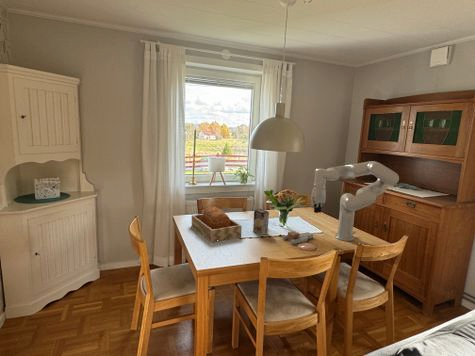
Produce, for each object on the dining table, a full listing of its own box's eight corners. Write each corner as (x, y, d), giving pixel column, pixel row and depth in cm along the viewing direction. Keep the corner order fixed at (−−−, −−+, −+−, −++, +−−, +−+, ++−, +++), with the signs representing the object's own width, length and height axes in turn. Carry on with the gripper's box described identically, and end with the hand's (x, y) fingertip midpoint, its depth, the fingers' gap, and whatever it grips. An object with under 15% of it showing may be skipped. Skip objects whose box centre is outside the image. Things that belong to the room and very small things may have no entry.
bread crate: (218, 221, 221) (218, 211, 220) (241, 236, 192) (241, 225, 191) (191, 225, 210) (191, 215, 208) (211, 242, 181) (211, 230, 179)
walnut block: (293, 238, 193) (294, 230, 192) (299, 241, 188) (299, 233, 187) (287, 239, 190) (287, 232, 189) (292, 242, 185) (293, 234, 184)
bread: (212, 238, 187) (212, 215, 185) (200, 225, 211) (201, 205, 208) (231, 236, 193) (232, 214, 190) (218, 223, 217) (218, 204, 214)
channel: (298, 236, 197) (298, 232, 197) (307, 240, 189) (307, 237, 189) (282, 239, 190) (282, 236, 189) (291, 244, 182) (291, 240, 182)
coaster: (306, 242, 186) (306, 241, 186) (319, 248, 177) (319, 247, 177) (294, 245, 181) (294, 244, 181) (306, 252, 172) (306, 251, 171)
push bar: (307, 236, 199) (308, 232, 198) (312, 238, 195) (313, 234, 194) (294, 238, 193) (294, 234, 192) (299, 241, 189) (299, 237, 188)
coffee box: (252, 231, 202) (253, 210, 200) (258, 229, 207) (259, 208, 204) (262, 235, 196) (263, 213, 193) (268, 233, 201) (269, 211, 198)
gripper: (323, 184, 200) (321, 209, 204) (307, 186, 192) (305, 212, 195) (332, 186, 194) (329, 212, 197) (315, 188, 186) (312, 215, 189)
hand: (317, 212), depth 196 cm, fingers closed
